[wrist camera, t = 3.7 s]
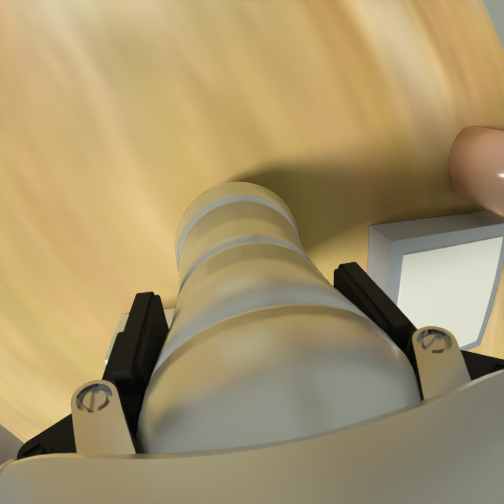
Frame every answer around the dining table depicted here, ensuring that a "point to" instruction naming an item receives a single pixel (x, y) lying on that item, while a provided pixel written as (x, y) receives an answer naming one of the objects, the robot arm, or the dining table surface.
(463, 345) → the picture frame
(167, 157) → the dining table surface
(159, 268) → the dining table surface
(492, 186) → the pink smooth rounded part
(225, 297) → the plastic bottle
